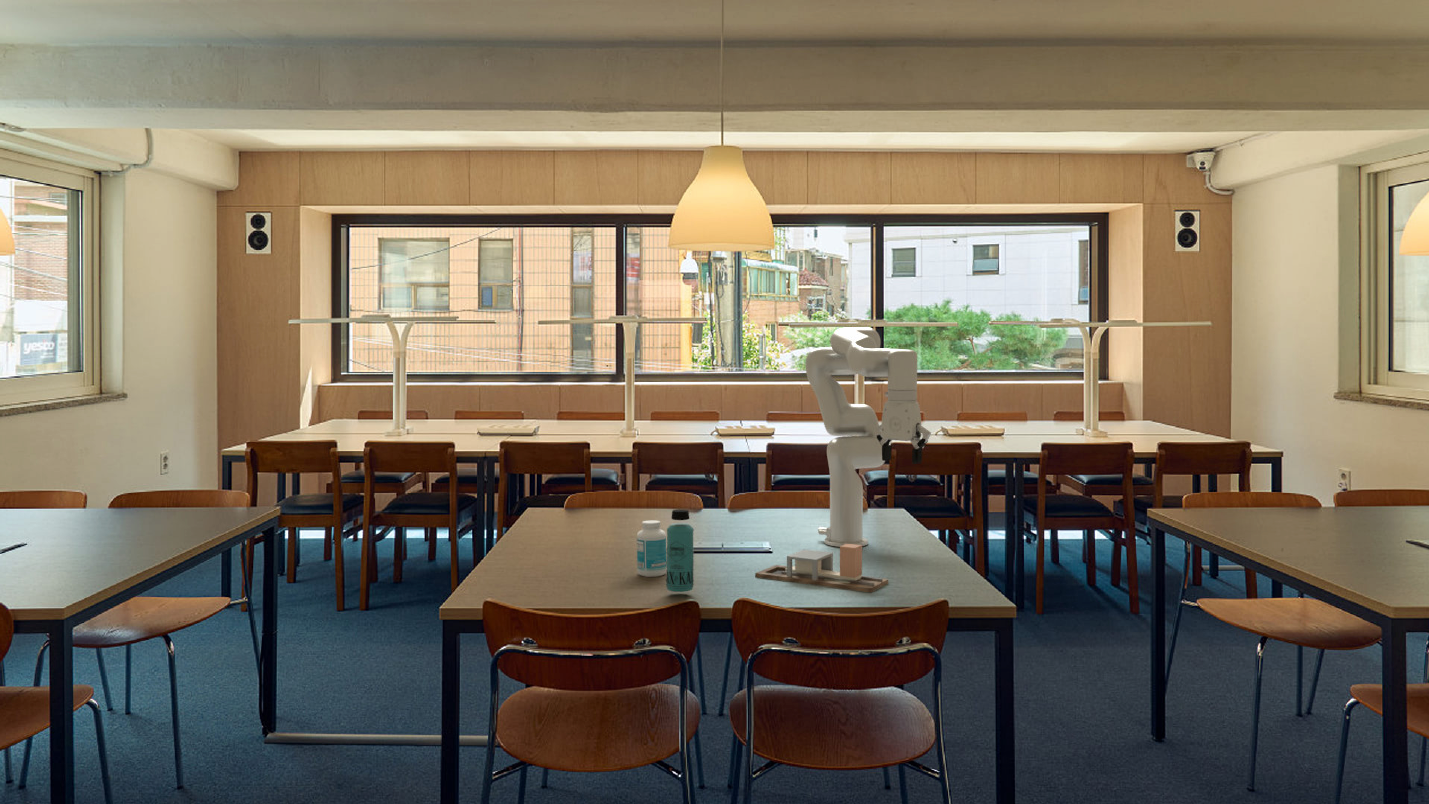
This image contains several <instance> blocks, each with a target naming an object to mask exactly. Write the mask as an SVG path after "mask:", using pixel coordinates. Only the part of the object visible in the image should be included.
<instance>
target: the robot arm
mask: <svg viewBox="0 0 1429 804" xmlns="http://www.w3.org/2000/svg"><path fill="white" fill-rule="evenodd" d="M829 339H830V340H829V344H830V346H825V347H824V346H822V347H820V346H819V347H816V348H813V349H812V350H811V351H809V352H808V354H807V356H806V359H805V373H806V377H807V380H808V382H809V385H810V387H811V389H812V391H813V392H814V395H815V397H816V401H817V403H818V408H819V411H820V414H821V418H822V421H823V425H824V428H825V430H826V432H827V434H829V435H830V436H834V437H835V438H832V439H831V440H830V441H829V442H828V444H827V446H826V456H827V457H826V458H827V463H828V468H829V527H821V526H819V527H818V530H817V533H818V535H822V536H826V537H825V539H824V544H825V545H827V546H829V547H838V548H840V546H842V545H845V544H855V545H862V547H864V546H867V545H868V543H869V540H868V539H867V538H865V537H863V532H864V531H863V528H864V527H863V521H864V520H863V518H864V517H863V515H864V514H863V511H864V510H863V507H864V506H863V505H864V504H863V502H864V499H863V498H864V497H863V496H864V494H863V493H864V489H863V488H864V487H863V486H864V484H863V481H862V479H861V477H860V476H859V474H858V473H857V471H856V470H857V469H872V468H873V469H874V468H879V467H881V466H883V464H885V462H887V461H891V460H892V444H891V442H892V441H901V442H903V441H905V442H909V441H910V443H911V444H912V446H913V448H912V452H911V455H912V456H911V457H912V458H911V460H912V461H911V463H912V464H913V465H917V464H918V465H920V464H922V462H923V461H922V460H923V449H924V448H925V446H926V444H927V443H928V442H929V439H930V438H931V433H932V432H931V431H930V430H928V429H927V428H925V427H924V426H922V416H921V415H922V414H921V408H920V403H919V402H917V401H918V400H917V399H918V353H917V352H916V351H915V350H913V349H903V348H902V349H901V348H881V337H880V334H879V332H877V330H876V329H875V328H872V327H867V326H865V327H860V326H859V327H856V326H854V327H853V326H852V327H851V326H849V327H847V326H845V327H840V328H838V329H836V330H835V331H833V333H832V334H831V336H830V338H829ZM834 375H836V376H837V375H838V376H843V375H844V376H847V375H859V376H862V377H867V378H873V377H876V378H877V377H878V378H881V377H882V378H885V377H887V391H885V392H884V396H885V397H887V401H885V402H884V404H883V409H882V414H881V424H880V423H879V420H878V417H877V414H876V412H875V410H874V409H873V407H871V406H870V405H868V404H864V403H850V402H849V401H848V399H847V396H846V393H845V390H844V388H843V386H841V384H840V383H839V382H838V381H837V380H836V379H835V378H833V377H832V376H834Z"/></svg>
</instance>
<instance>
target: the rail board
mask: <svg viewBox="0 0 1429 804" xmlns="http://www.w3.org/2000/svg"><path fill="white" fill-rule="evenodd" d="M785 568H787V565H780V564H774V565H773V566H770V567H767V568H764V569H762V570H759V571H758V572H757V571H756V572H755V574H754V575H755V578H761V579H767V580H774V581H775V580H776V581H782V582H788V583H790V582H791V583H798V584H803V585H805V584H806V585H811V586H819V587H827V588H834V589H840V590H849V591H855V592H862V593H870V594H871V593H874V592H875V591H876V590H879V589H880V588H882V587H884V586H886V585H888V584H889V579H888V578H882V577H874V576H865V575H861V578H860V579H858V580H848V579H840V578H833V577H825V576H818V580H812V575H810V574H802V573H794V572H792V577H787V571H785Z"/></svg>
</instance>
